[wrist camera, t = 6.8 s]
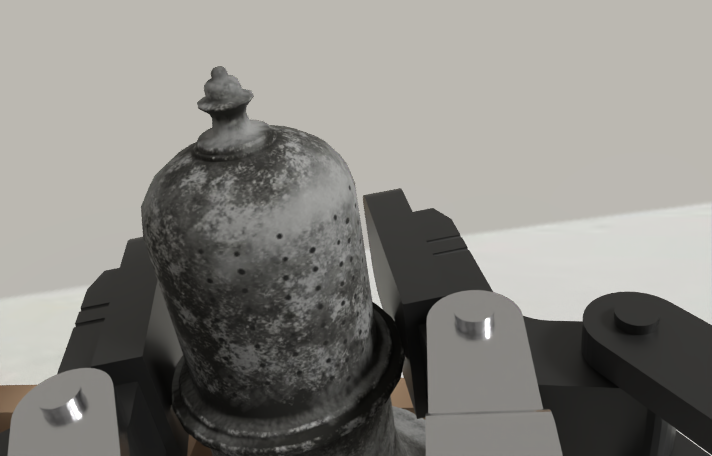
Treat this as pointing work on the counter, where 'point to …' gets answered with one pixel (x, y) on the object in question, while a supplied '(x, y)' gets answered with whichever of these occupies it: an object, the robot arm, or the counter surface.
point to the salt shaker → (272, 294)
